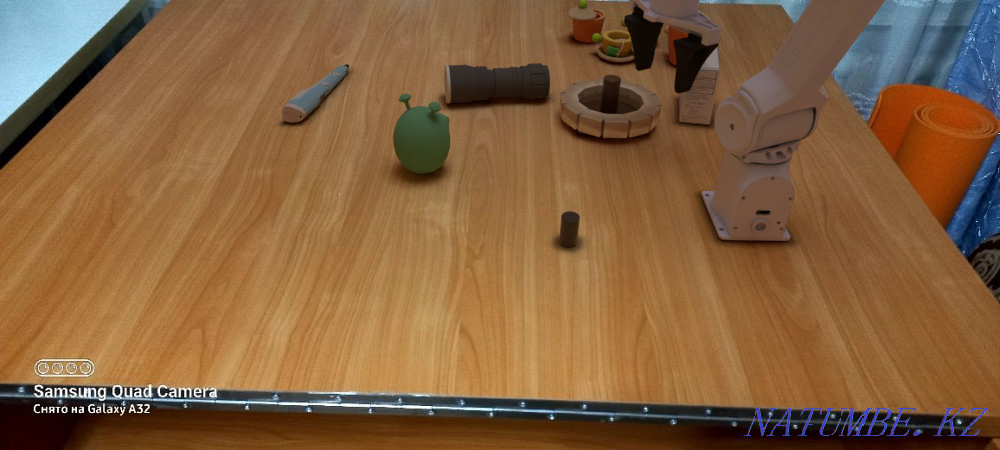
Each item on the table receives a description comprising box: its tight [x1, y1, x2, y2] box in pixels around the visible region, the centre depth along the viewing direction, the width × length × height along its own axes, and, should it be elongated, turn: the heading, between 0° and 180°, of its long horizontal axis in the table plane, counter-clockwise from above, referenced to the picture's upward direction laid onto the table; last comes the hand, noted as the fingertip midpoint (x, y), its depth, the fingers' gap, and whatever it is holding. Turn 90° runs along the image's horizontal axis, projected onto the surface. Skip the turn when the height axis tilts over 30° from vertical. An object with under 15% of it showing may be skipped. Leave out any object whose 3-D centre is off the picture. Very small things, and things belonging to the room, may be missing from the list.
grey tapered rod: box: [281, 63, 350, 123], centre depth 109 cm, size 19×3×3 cm, turn 166°
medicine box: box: [678, 47, 721, 126], centre depth 106 cm, size 8×4×9 cm, turn 168°
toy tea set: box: [566, 0, 722, 67], centre depth 124 cm, size 26×16×10 cm, turn 84°
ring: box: [559, 77, 663, 139], centre depth 104 cm, size 14×14×2 cm
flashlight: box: [443, 62, 551, 104], centre depth 109 cm, size 15×5×5 cm, turn 99°
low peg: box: [558, 210, 581, 248], centre depth 81 cm, size 2×2×4 cm
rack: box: [577, 74, 645, 137], centre depth 104 cm, size 9×9×6 cm
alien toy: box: [392, 93, 451, 175], centre depth 91 cm, size 7×8×10 cm
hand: (662, 79), depth 95 cm, fingers open, 7 cm apart
